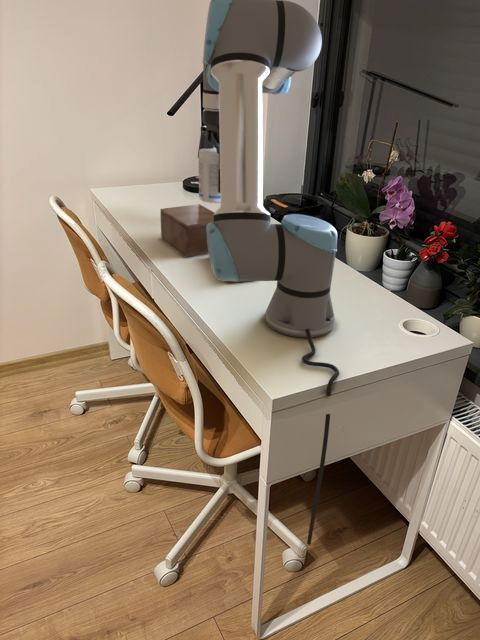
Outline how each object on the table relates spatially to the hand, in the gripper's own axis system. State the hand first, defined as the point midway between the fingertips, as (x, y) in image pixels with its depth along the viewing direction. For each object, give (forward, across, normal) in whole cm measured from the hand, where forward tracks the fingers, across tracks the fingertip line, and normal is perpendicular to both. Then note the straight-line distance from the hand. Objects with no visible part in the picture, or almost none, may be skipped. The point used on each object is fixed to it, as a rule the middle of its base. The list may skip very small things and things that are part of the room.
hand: (214, 188), depth 170 cm
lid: (+4, -13, +14) cm, 20 cm away
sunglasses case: (+13, -32, +13) cm, 37 cm away
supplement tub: (+4, 0, 0) cm, 4 cm away
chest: (+12, -12, +14) cm, 22 cm away
